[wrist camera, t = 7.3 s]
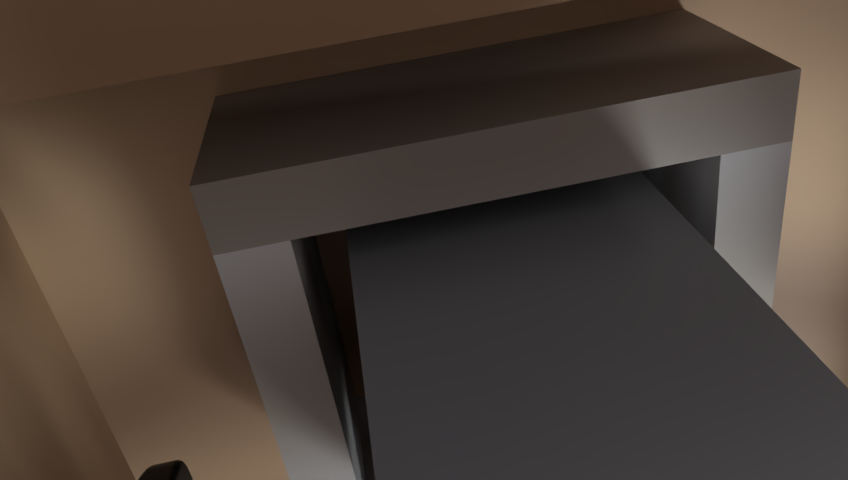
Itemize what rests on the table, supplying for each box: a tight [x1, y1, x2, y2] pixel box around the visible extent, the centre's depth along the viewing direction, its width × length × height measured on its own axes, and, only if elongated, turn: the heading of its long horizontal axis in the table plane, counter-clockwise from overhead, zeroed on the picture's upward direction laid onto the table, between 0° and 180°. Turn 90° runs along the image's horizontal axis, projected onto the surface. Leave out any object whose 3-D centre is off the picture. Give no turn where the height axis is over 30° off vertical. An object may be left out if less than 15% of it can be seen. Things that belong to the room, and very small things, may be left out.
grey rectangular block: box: [346, 171, 848, 480], centre depth 9 cm, size 4×4×8 cm
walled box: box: [0, 0, 848, 480], centre depth 12 cm, size 16×18×5 cm
